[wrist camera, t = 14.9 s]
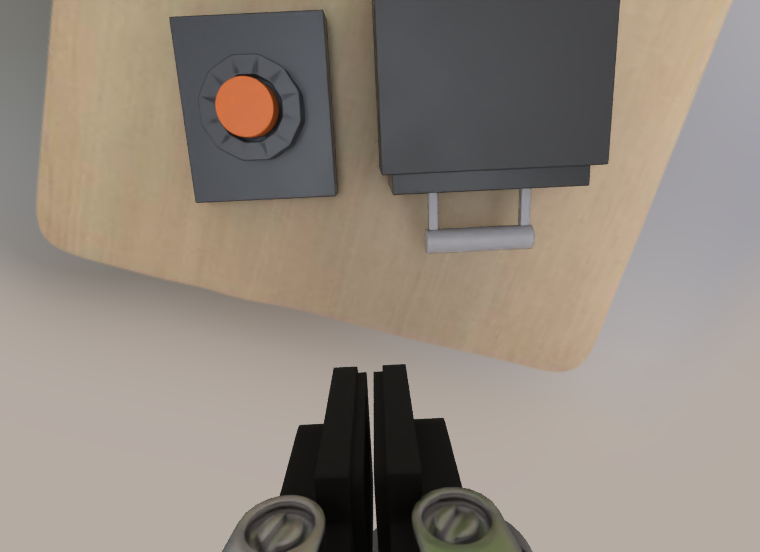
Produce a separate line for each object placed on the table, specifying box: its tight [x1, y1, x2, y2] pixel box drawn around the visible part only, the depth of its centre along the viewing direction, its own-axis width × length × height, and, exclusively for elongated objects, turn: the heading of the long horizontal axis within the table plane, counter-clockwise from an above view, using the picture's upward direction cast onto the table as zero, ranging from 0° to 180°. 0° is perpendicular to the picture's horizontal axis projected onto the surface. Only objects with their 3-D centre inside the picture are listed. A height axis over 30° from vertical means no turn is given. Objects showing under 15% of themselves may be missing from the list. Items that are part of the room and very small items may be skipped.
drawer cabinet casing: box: [372, 0, 620, 175], centre depth 30 cm, size 15×13×10 cm
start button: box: [215, 76, 279, 138], centre depth 31 cm, size 4×4×2 cm
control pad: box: [169, 10, 338, 203], centre depth 33 cm, size 12×10×4 cm
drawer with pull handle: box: [388, 165, 590, 254], centre depth 31 cm, size 18×11×8 cm, turn 3°
